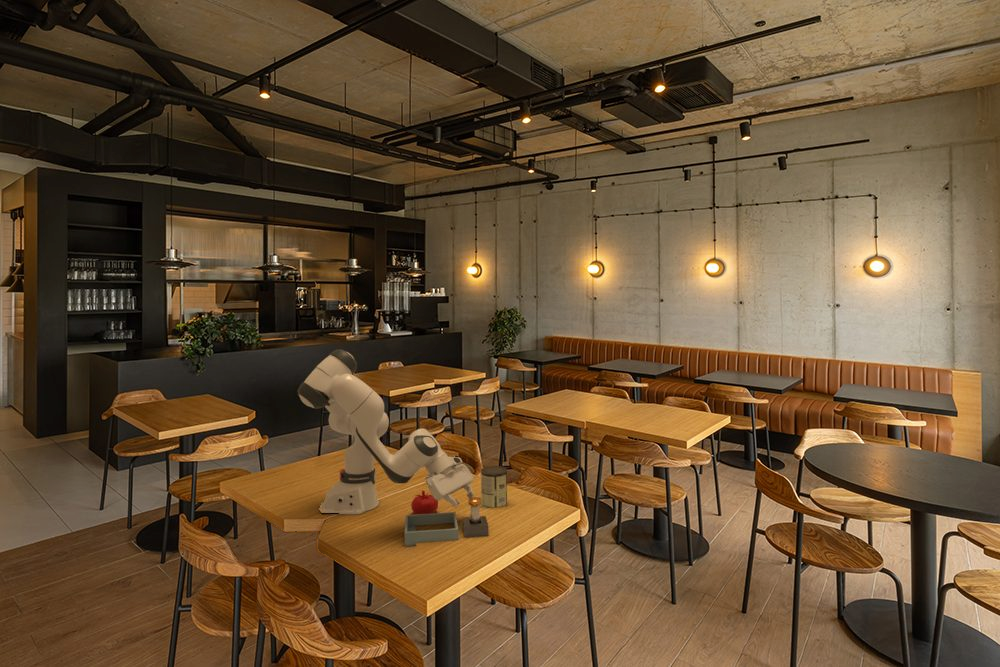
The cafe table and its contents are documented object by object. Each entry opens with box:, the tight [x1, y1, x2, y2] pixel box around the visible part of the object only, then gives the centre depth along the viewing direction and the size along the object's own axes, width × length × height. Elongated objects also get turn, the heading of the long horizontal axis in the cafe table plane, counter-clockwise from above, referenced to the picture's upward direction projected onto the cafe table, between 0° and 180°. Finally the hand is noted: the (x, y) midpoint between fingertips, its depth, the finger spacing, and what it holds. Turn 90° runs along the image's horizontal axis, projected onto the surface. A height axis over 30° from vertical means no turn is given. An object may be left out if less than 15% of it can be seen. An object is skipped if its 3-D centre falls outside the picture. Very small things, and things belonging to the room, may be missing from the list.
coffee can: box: [480, 465, 508, 509], centre depth 209 cm, size 10×10×14 cm
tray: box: [404, 511, 459, 547], centre depth 183 cm, size 18×15×4 cm
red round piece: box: [410, 490, 439, 515], centre depth 200 cm, size 10×10×9 cm
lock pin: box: [468, 496, 482, 524], centre depth 183 cm, size 4×4×11 cm
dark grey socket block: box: [462, 515, 489, 538], centre depth 183 cm, size 8×8×4 cm
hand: (464, 501), depth 184 cm, fingers open, 8 cm apart
